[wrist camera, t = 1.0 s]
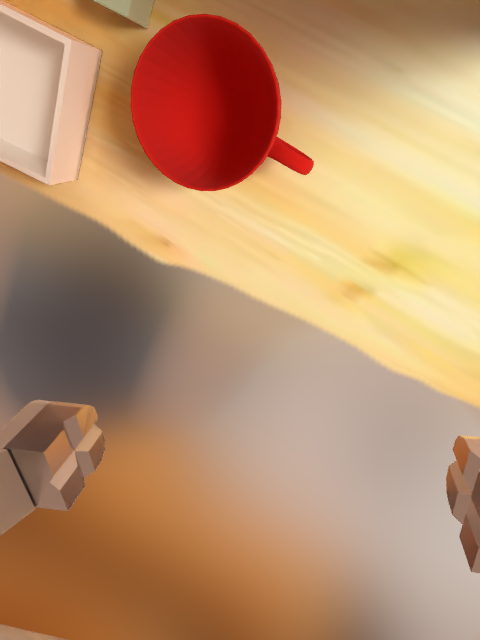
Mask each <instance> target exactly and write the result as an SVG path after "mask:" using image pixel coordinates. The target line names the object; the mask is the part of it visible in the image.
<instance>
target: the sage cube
mask: <svg viewBox="0 0 480 640" xmlns="http://www.w3.org/2000/svg"><path fill="white" fill-rule="evenodd" d="M93 1H95V2H96V3H98V4H100V5H102V6H104V7H105V8H107V9H109V10H111V11H113V12H115V13H117V14H119V15H121V16H123V17H125V18H127V19H129V20H131V21H133V22H135V23H137V24H139V25H141V26H143V27H144V28H146V29H148V25H149V20H150V16H151V12H152V8H153V4H154V0H93Z"/></svg>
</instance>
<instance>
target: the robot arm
mask: <svg viewBox="0 0 480 640" xmlns="http://www.w3.org/2000/svg"><path fill="white" fill-rule="evenodd" d="M97 419H98V416H97V414H96V411H95V408H94V407H92V406H89V405H83V404H74V403H65V402H56V401H54V402H51V401H43V400H35V401H32V402H30V403H28V404H27V405H26V406H25V407H24V408H23V409H22V410H21V411H20V412H19V413H18V414H17V415H15V416H14V417H13V418H12V419H11V420H10V421H9V422H8V423H7V424H6V425H5V426H4V427H3V428H1V429H0V536H1V535H2V534H3V533H4V532H6V531H7V530H9V529H10V528H11V527H12V526H14V525H15V524H16V523H18V522H19V521H20V520H22V519H23V518H24V517H26V516H27V515H28V514H30V513H31V512H32V511H34V510H35V507H39V508H48V509H56V510H65V511H68V510H69V509H70V507H71V506H72V505H73V503H74V502H75V500H76V498H77V497H78V496H79V494H80V493H81V491H82V489H83V488H84V487H85V482H84V478H85V477H86V476H88V475H89V474H91V473H92V472H94V471H95V470H96V469H97V467H98V465H99V464H100V462H101V460H102V457H103V453H104V450H105V439H104V435H103V432H102V431H101V430H100V429H99V428H98V427H97V426H96V425H95V423H96V421H97ZM453 452H454V454H455V457H456V460H457V461H455V462H454V463H452V464H451V465H449V467H448V473H447V477H446V481H447V484H446V486H447V497H448V501H449V505H450V509H451V512H452V515H453V516H454V517H455V518H456V519H457V520H458V521H460V522H461V523H462V524H463V525H462V529H461V532H460V540H461V543H462V545H463V549H464V551H465V555H466V558H467V560H468V564H469V567H470V569H471V572H476V573H480V437H473V436H458V437H457V439H456V440H455V443H454V447H453ZM0 640H65V639H61V638H57V637H52V636H49V635H44V634H40V633H36V632H31V631H27V630H23V629H18V628H14V627H10V626H5V625H1V624H0Z"/></svg>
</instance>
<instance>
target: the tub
mask: <svg viewBox="0 0 480 640" xmlns="http://www.w3.org/2000/svg"><path fill="white" fill-rule="evenodd" d="M101 56H102V50H100V49H98V48H96V47H94V46H92V45H90V44H88V43H86V42H84V41H82V40H80V39H78V38H76V37H74V36H72V35H70V34H68V33H66V32H64V31H62V30H60V29H58V28H56V27H54V26H52V25H50V24H48V23H46V22H44V21H42V20H40V19H38V18H37V17H35V16H33V15H31V14H29V13H27V12H25V11H23V10H21V9H19V8H17V7H15V6H13V5H11V4H9V3H7V2H5V1H3V0H0V161H1V162H3V163H5V164H7V165H9V166H11V167H13V168H15V169H17V170H19V171H21V172H23V173H25V174H27V175H29V176H31V177H33V178H35V179H37V180H39V181H41V182H43V183H45V184H47V185H54V184H59V183H64V182H69V181H73V180H78V175H79V170H80V165H81V160H82V155H83V149H84V144H85V139H86V134H87V129H88V123H89V118H90V113H91V108H92V103H93V97H94V92H95V87H96V82H97V77H98V71H99V66H100V61H101Z"/></svg>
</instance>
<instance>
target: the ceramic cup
mask: <svg viewBox="0 0 480 640" xmlns="http://www.w3.org/2000/svg"><path fill="white" fill-rule="evenodd" d="M131 110H132V117H133V123H134V127H135V130H136V133H137V137H138V139H139V141H140V143H141V145H142V147H143V149H144V151H145V153H146V154H147V156H148V157H149V159H150V160H151V161H152V163H153V164H154V165H155V166H156V167H157V168H158V169H159V170H160V171H161V172H162V173H163V174H164V175H165V176H167V177H168V178H170V179H171V180H172V181H174V182H175V183H178V184H180V185H182V186H184V187H187V188H190V189H195V190H200V191H216V190H221V189H226V188H229V187H231V186H233V185H236V184H238V183H240V182H242V181H243V180H244V179H246V178H247V177H248V176H250V175H251V174H252V173H253V172H254V171H255V170H256V169H257V168H258V167H259V166H260V165H261V164H262V162H263V161H264V160H265V158H266V157H267V156H268V157H270V158H272V159H274V160H276V161H278V162H280V163H281V164H283V165H285V166H287V167H288V168H290V169H292V170H294V171H296V172H298V173H300V174H303V175H307V174H308V173H309V172H310V171H311V170H312V168H313V165H314V161H313V160H312V159H311V158H310V157H308V156H307V155H305V154H304V153H302V152H301V151H299V150H298V149H296V148H295V147H293V146H291V145H290V144H288V143H286V142H285V141H283V140H281V139H280V138H278V137H276V136H277V134H278V129H279V124H280V119H281V96H280V90H279V83H278V80H277V77H276V74H275V72H274V69H273V66H272V64H271V62H270V60H269V58H268V57H267V55H266V53H265V51H264V49H263V48H262V47H261V45H260V44H259V43H258V42H257V41H256V40H255V38H254V37H253V36H252V35H251V34H250V33H249V32H247V31H246V30H245V29H243V28H242V27H241V26H239V25H238V24H237V23H235V22H233V21H230V20H228V19H226V18H223V17H221V16H215V15H209V14H198V15H188V16H186V17H183V18H180V19H177V20H174V21H173V22H171V23H170V24H168V25H167V26H165V27H164V28H162V29H161V30H160V31H159V32H158V33H157V34H156V35H155V36H154V37H153V38H152V39H151V40H150V41H149V43H148V44H147V46H146V48H145V49H144V51H143V53H142V54H141V56H140V58H139V61H138V63H137V66H136V69H135V71H134V76H133V82H132V87H131Z"/></svg>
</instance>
